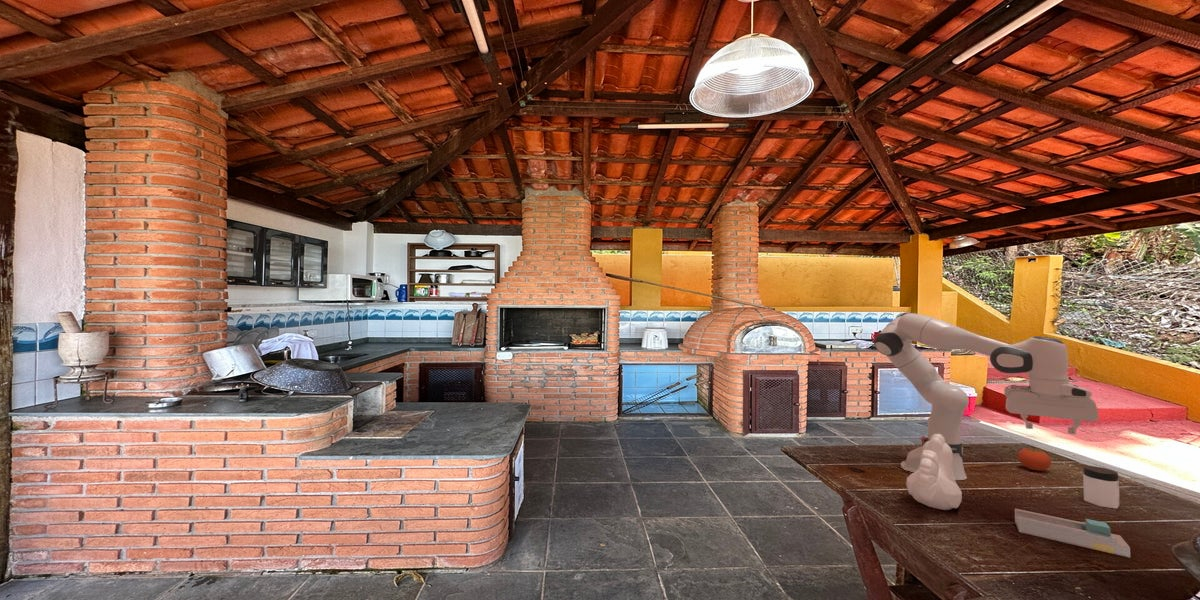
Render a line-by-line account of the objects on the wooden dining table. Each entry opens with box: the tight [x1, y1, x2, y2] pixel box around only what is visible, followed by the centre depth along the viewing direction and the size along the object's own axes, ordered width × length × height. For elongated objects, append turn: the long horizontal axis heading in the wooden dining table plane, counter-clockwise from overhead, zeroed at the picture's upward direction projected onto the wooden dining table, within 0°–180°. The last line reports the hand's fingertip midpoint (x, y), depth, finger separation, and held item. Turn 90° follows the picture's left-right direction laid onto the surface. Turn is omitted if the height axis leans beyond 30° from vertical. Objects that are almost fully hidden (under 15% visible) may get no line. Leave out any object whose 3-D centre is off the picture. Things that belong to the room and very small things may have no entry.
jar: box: [1082, 465, 1120, 510], centre depth 153 cm, size 9×8×12 cm
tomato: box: [1017, 446, 1052, 472], centre depth 185 cm, size 10×10×10 cm
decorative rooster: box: [905, 434, 963, 511], centre depth 151 cm, size 25×16×25 cm, turn 119°
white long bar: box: [1014, 508, 1131, 559], centre depth 127 cm, size 22×8×6 cm, turn 52°
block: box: [1085, 518, 1112, 536], centre depth 123 cm, size 4×4×6 cm
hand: (1050, 431), depth 135 cm, fingers open, 8 cm apart
